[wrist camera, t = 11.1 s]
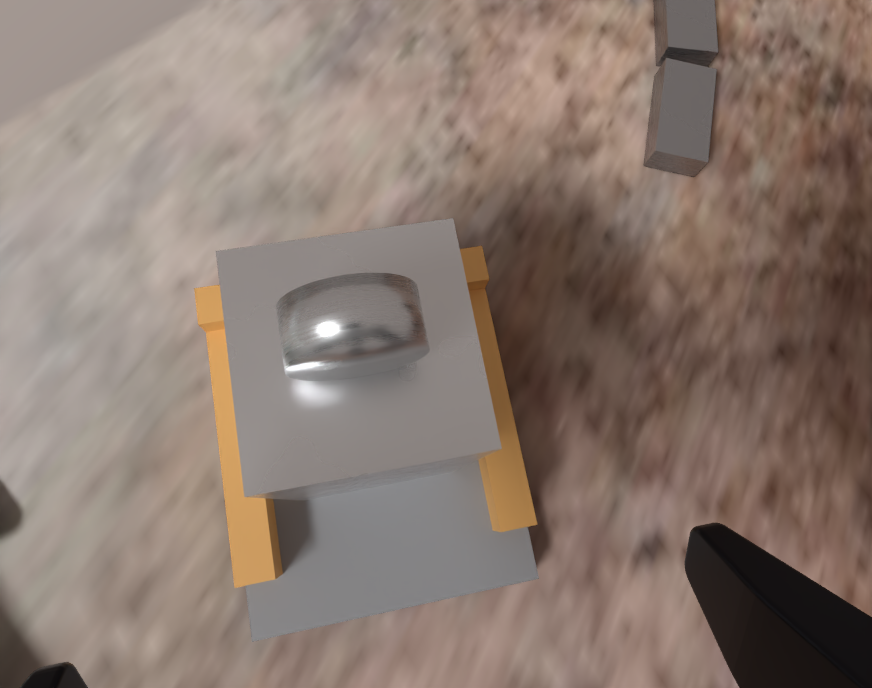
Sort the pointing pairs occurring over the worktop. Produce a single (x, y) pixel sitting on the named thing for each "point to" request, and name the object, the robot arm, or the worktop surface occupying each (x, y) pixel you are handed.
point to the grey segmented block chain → (682, 86)
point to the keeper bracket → (376, 514)
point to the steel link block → (354, 361)
